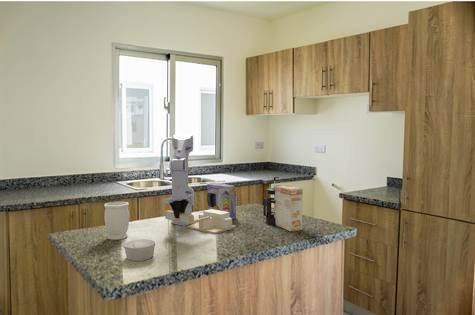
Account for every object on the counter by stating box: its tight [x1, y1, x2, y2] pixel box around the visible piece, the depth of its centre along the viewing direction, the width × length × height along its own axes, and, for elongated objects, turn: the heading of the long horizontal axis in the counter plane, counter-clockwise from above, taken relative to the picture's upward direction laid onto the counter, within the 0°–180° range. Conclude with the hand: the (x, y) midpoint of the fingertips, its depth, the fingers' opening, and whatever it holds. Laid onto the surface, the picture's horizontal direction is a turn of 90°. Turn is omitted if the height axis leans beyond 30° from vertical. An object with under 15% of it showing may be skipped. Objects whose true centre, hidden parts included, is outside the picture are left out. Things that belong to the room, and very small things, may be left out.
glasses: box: [164, 209, 210, 225], centre depth 174 cm, size 12×16×4 cm
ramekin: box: [123, 238, 156, 262], centre depth 144 cm, size 11×11×5 cm
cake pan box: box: [206, 182, 237, 220], centre depth 208 cm, size 19×5×18 cm, turn 42°
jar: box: [103, 201, 130, 241], centre depth 170 cm, size 11×10×15 cm
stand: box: [186, 209, 237, 235], centre depth 186 cm, size 15×18×7 cm
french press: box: [262, 176, 280, 226], centre depth 194 cm, size 12×9×23 cm
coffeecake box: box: [273, 184, 304, 232], centre depth 186 cm, size 15×7×20 cm, turn 25°
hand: (179, 217), depth 170 cm, fingers closed on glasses, 2 cm apart
